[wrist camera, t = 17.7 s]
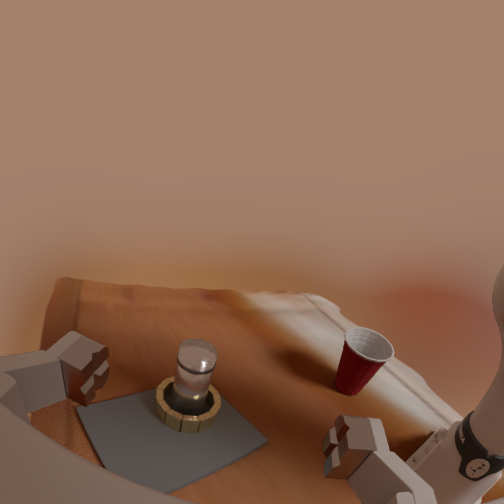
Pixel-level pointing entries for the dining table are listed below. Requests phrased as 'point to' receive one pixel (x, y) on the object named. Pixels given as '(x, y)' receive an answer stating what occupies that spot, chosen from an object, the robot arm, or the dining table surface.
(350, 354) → the plastic cup
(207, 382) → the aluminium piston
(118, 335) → the dining table surface
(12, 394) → the robot arm
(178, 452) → the rubber mat
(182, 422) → the brass collar
